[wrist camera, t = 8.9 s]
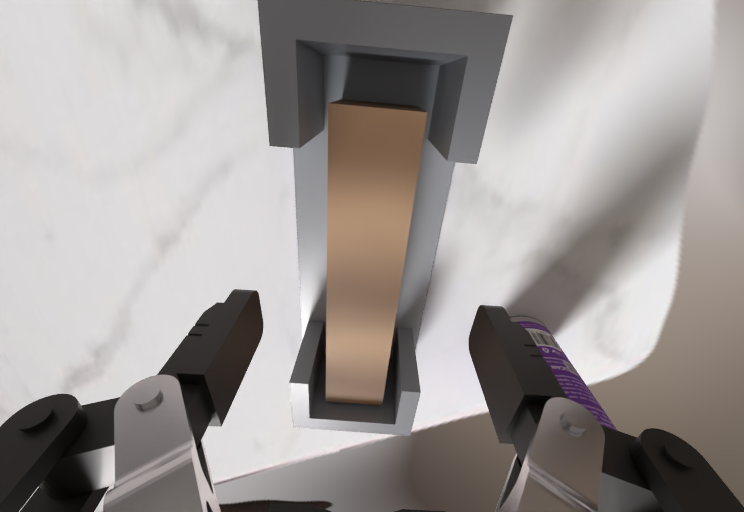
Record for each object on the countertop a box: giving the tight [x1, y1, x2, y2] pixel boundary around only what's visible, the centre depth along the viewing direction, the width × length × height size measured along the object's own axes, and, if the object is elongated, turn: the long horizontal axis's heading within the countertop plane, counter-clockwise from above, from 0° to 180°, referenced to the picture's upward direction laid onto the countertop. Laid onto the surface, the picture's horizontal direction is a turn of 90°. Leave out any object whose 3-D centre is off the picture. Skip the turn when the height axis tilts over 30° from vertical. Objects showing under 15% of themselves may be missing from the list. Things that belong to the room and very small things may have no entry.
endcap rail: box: [258, 0, 513, 436], centre depth 16 cm, size 20×8×6 cm, turn 175°
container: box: [510, 316, 617, 431], centre depth 15 cm, size 5×5×15 cm
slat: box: [326, 99, 428, 405], centre depth 16 cm, size 16×3×4 cm, turn 175°
